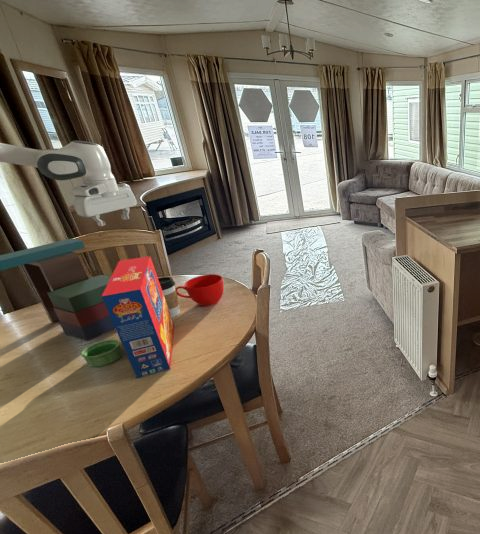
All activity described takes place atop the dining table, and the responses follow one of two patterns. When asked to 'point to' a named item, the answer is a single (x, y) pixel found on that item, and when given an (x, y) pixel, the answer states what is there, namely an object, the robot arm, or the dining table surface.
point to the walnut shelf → (54, 277)
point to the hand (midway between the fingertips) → (114, 222)
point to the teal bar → (39, 253)
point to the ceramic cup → (204, 289)
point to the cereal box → (140, 315)
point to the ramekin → (102, 352)
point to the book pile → (83, 308)
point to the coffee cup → (170, 295)
